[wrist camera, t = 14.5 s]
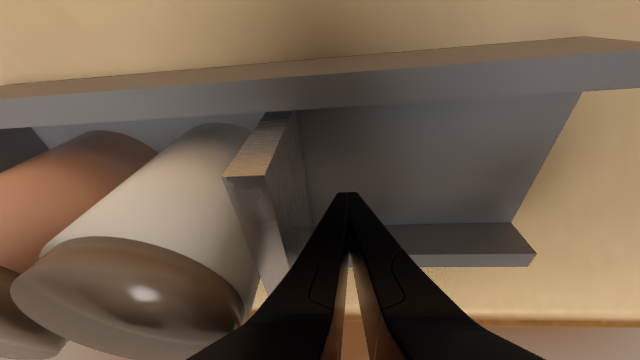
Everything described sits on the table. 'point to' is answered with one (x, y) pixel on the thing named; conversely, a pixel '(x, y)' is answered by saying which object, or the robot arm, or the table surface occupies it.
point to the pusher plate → (271, 195)
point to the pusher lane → (366, 128)
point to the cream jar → (151, 258)
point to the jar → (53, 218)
